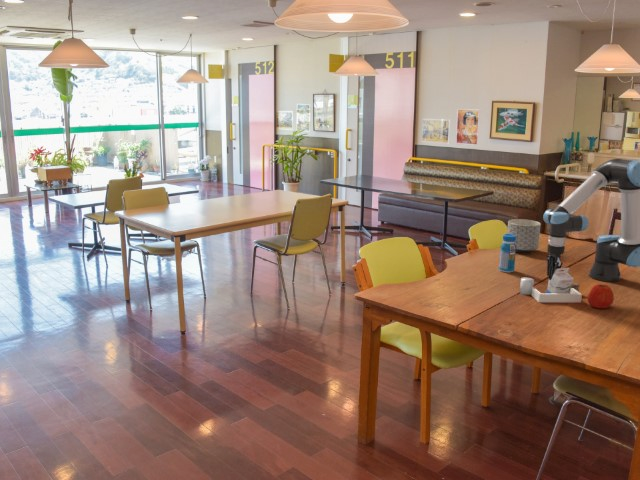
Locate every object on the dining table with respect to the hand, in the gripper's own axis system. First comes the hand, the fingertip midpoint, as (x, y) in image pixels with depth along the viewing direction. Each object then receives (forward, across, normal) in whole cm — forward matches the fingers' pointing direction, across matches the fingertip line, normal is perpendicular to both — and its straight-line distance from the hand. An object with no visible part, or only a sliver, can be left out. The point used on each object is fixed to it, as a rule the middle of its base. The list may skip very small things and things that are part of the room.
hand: (550, 291), depth 294 cm
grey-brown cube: (+2, -3, +11) cm, 12 cm away
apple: (+2, +16, +17) cm, 23 cm away
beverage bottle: (+2, -41, -8) cm, 42 cm away
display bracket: (+2, +5, 0) cm, 5 cm away
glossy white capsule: (+2, -3, -11) cm, 11 cm away
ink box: (+1, +3, +1) cm, 3 cm away
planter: (+2, -84, +16) cm, 86 cm away
